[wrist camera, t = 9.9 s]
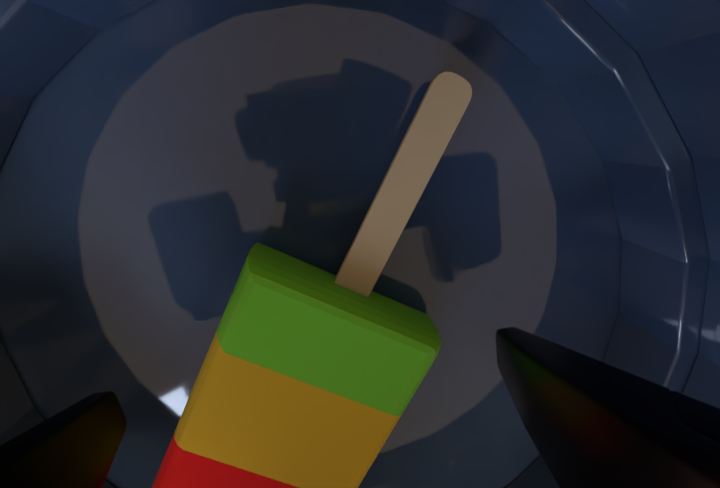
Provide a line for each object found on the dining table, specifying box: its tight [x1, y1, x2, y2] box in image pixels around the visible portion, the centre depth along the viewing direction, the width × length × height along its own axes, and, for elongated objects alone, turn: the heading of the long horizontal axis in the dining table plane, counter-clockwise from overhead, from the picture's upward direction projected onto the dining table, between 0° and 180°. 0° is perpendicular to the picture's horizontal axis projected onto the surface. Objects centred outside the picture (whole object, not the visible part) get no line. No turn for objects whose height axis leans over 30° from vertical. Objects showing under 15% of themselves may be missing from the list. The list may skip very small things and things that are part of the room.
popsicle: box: [152, 72, 472, 488], centre depth 10 cm, size 6×15×2 cm, turn 154°
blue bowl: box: [0, 0, 720, 488], centre depth 9 cm, size 20×20×5 cm
